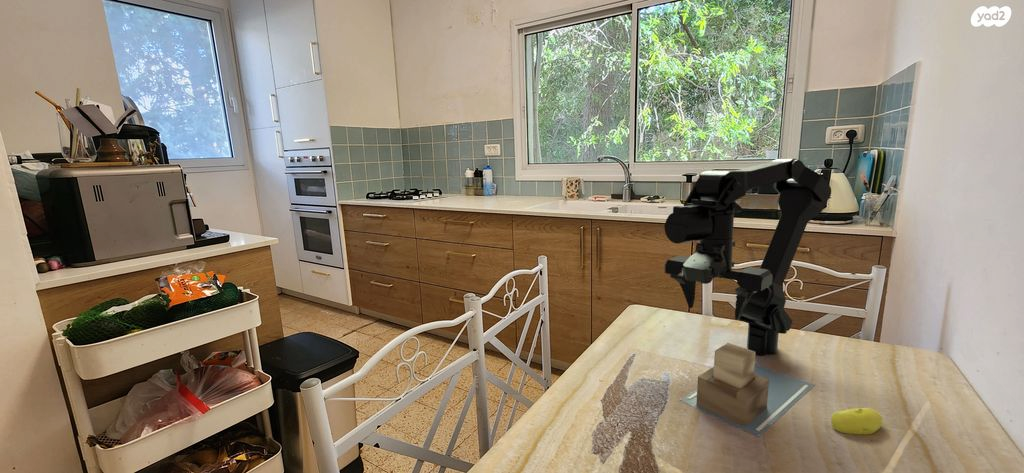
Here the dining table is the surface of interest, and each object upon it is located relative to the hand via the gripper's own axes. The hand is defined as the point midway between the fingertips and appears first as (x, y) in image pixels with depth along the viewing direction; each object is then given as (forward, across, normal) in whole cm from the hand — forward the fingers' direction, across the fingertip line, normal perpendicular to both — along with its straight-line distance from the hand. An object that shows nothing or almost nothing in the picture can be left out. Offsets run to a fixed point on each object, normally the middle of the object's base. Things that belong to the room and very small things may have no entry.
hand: (713, 313), depth 85 cm
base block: (+11, +9, -12) cm, 19 cm away
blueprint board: (+12, +9, -6) cm, 16 cm away
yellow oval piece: (+12, +24, -4) cm, 28 cm away
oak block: (+7, +9, -12) cm, 17 cm away
